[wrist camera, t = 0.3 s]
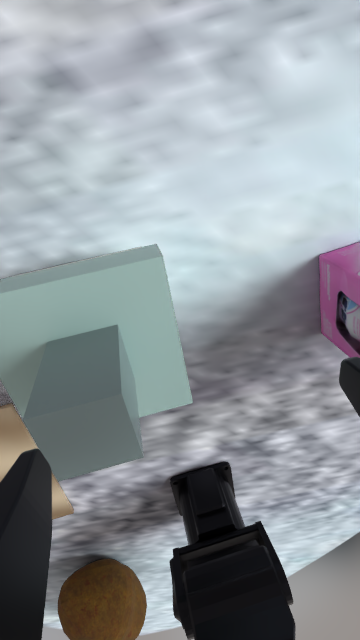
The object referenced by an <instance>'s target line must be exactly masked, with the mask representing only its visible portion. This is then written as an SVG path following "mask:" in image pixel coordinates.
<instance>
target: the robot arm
mask: <svg viewBox="0 0 360 640" xmlns="http://www.w3.org/2000/svg"><path fill="white" fill-rule="evenodd" d="M339 383H340V386H341V388H342V390H343V391H344V393H345V394H346V396H347V398H348V399H349V401H350V402H351V404H352V405H353V407H354V409H355V410H356V412H357V413H358V415H359V417H360V358H359V357H351V358H348V359H344V360H343V361H342V362H341V368H340V376H339ZM170 483H171V487H172V490H173V493H174V497H175V500H176V503H177V507H178V510H179V513H180V515H181V516H183V521H184V526H185V531H186V535H187V540H188V546H185V547H182V548H175V549H173V558H172V559H171V560H170V568H171V575H172V585H173V611H174V616H175V618H176V619H177V620H179V621H180V622H181V623H182V626H183V629H185V633H186V636H187V638H188V640H191V639H195V640H295V622H294V619H293V616H292V613H291V611H290V608H289V605H292V604H293V598H292V594H291V590H290V587H289V584H288V581H287V578H286V575H285V572H284V570H283V567H282V565H281V562H280V560H279V558H278V556H277V554H276V552H275V550H274V548H273V546H272V544H271V542H270V539H269V537H268V535H267V533H266V531H265V529H264V527H263V525H262V523H261V521H258V522H255V524H253V525H250V526H247V527H245V525H244V522H243V520H242V517H241V514H240V511H239V508H238V506H237V503H236V500H235V493H234V486H233V480H232V473H231V467H230V464H229V463H228V462H224V463H220V464H217V465H213V466H210V467H207V468H203V469H200V470H196V471H193V472H190V473H186V474H183V475H179V476H176V477H173V478H171V480H170ZM51 537H52V471H51V467H50V464H49V463H48V461H47V460H46V458H45V457H44V455H43V454H42V452H41V451H40V450H39V449H37V448H35V449H31V450H28V451H25V452H23V453H21V454H20V456H19V457H18V458H17V460H16V461H15V463H14V464H13V465H12V467H11V468H10V469H9V471H8V472H7V474H6V475H5V476H4V478H3V479H2V481H1V482H0V640H41V638H42V628H43V618H44V608H45V598H46V588H47V578H48V568H49V558H50V548H51Z"/></svg>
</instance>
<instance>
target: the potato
mask: <svg viewBox="0 0 360 640" xmlns="http://www.w3.org/2000/svg"><path fill="white" fill-rule="evenodd" d="M146 608H147V603H146V595H145V592H144V590H143V587H142V585H141V583H140V581H139V579H138V578H137V576H136V575H135V573H134V572H133V570H131V569H130V568H129V567H128V566H126V565H123V564H121V563H120V562H118V561H116V560H114V559H101V560H98V561H95V562H93V563H90V564H88V565H86V566H84V567H82V568H81V569H79V570H77V571H76V572H75V573H73V574H72V575H71V576H70V577H69V578H68V579H67V580H66V581H65V582H64V584H63V585H62V587H61V591H60V595H59V599H58V615H59V618H60V622H61V625H62V628H63V631H64V633H65V634H66V635H67V636H68V638H69V639H70V640H135V639H136V638H137V637H138V636H139V633H140V631H141V629H142V627H143V624H144V620H145V615H146Z"/></svg>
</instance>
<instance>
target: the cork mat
mask: <svg viewBox="0 0 360 640" xmlns="http://www.w3.org/2000/svg"><path fill="white" fill-rule="evenodd" d="M35 448H37V449H38V447H37V446H36V444H35V442H34V440H33V439H32V437H31V435H30V434H29V432H28V430H27V428H26V427H25V425H24V423H23V422H22V420H21V418H20V416H19V415H18V413H17V411H16V410H15V408H14V406H13V404H12V403H11V404H7V405H3V406H0V482H1V481H2V479H3V478H4V476H5V475H6V474H7V472H8V471H9V469H10V468H11V467H12V465H13V464H14V463H15V461H16V460H17V458H18V457H19V456H20V454H21V453H23V452H25V451H28V450H31V449H35ZM73 512H74V509H73V507H72V506H71V504H70V502H69V500H68V499H67V497H66V495H65V494H64V492H63V490H62V488H61V487H60V485H59V483H58V482H57V480H56V478H55V476H54V475H53V473H52V519H56V518H59V517H63V516H66V515H69V514H73Z"/></svg>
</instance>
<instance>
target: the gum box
mask: <svg viewBox="0 0 360 640" xmlns="http://www.w3.org/2000/svg"><path fill="white" fill-rule="evenodd" d="M319 268H320V311H321V333H322V334H323V335H324V336H326V337H327V338H328V339H329V340H330V341H331V342H333V343H334V344H335V345H336V346H337V347H338V348H339V349H341V350H342V351H343V352H344V353H345V354H347V355H348V356H349V357H350V358H351V357H359V358H360V242H358V243H355V244H352V245H349V246H347V247H344V248H340V249H337V250H334V251H331V252H328V253H324V254H321V255H320V256H319Z"/></svg>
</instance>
